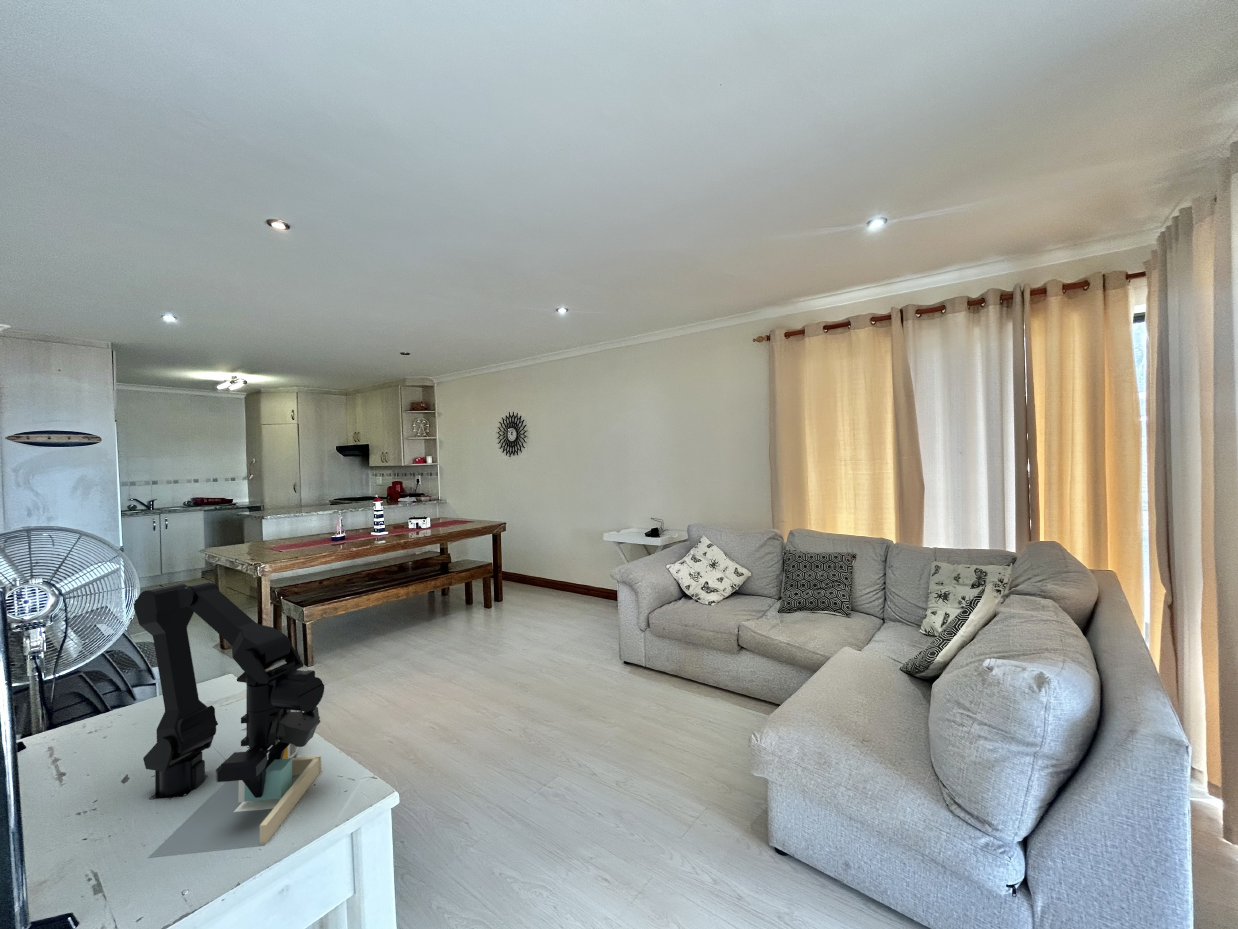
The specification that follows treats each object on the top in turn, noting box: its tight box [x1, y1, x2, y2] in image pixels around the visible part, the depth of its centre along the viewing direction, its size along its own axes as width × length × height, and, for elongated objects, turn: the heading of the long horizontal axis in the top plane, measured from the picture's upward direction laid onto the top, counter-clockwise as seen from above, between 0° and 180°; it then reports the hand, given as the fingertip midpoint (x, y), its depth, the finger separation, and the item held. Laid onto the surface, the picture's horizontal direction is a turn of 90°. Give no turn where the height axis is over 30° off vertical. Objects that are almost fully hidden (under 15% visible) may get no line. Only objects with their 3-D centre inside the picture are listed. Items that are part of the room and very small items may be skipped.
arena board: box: [147, 755, 322, 859], centre depth 90 cm, size 17×20×4 cm
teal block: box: [239, 758, 292, 802], centre depth 92 cm, size 4×7×5 cm, turn 98°
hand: (265, 789), depth 92 cm, fingers closed on teal block, 4 cm apart
